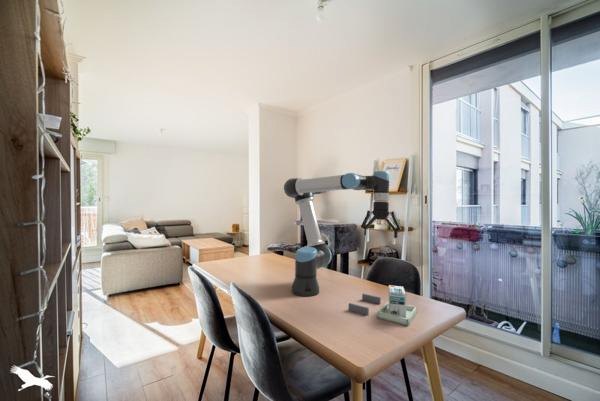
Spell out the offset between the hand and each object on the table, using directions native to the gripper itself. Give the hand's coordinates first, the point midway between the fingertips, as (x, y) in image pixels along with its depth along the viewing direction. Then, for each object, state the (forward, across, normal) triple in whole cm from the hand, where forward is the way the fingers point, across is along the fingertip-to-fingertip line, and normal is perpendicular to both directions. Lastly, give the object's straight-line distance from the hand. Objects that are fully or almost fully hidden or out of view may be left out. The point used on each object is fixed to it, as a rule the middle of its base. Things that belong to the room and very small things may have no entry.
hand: (380, 243), depth 137 cm
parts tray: (+29, +13, -14) cm, 34 cm away
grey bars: (+29, -2, -14) cm, 32 cm away
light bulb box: (+28, +12, -14) cm, 34 cm away
